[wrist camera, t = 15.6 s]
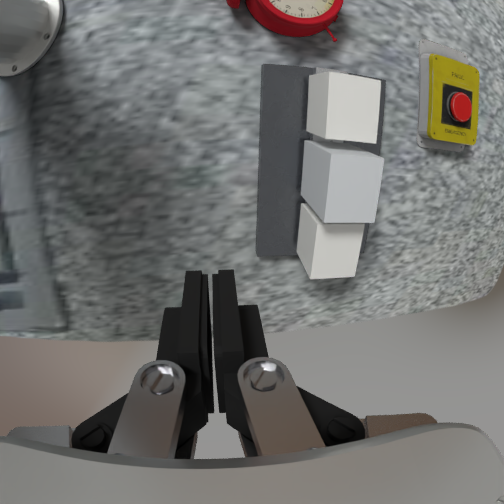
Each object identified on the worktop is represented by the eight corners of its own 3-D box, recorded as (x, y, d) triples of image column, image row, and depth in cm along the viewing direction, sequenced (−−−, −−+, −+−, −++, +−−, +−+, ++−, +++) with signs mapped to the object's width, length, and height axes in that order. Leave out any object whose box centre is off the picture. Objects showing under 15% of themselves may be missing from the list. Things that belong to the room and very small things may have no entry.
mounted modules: (309, 75, 27) (329, 71, 22) (353, 81, 28) (381, 80, 23) (296, 251, 37) (310, 279, 31) (335, 250, 37) (354, 276, 32)
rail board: (261, 65, 29) (265, 62, 26) (379, 80, 30) (390, 80, 28) (255, 250, 39) (258, 260, 37) (359, 247, 40) (366, 256, 38)
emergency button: (433, 153, 31) (436, 34, 24) (413, 145, 35) (415, 37, 28) (480, 159, 32) (485, 54, 25) (461, 152, 36) (465, 54, 29)
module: (304, 140, 31) (331, 153, 24) (349, 143, 31) (385, 158, 24) (300, 194, 33) (323, 222, 26) (343, 195, 34) (375, 222, 27)
